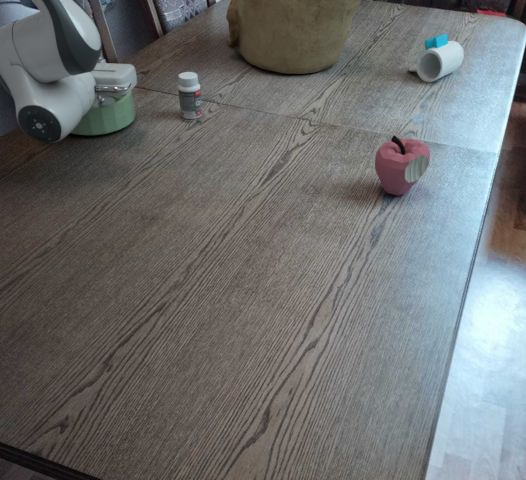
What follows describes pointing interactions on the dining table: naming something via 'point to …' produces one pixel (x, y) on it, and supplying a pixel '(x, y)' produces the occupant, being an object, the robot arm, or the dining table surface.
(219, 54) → the dining table surface
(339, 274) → the dining table surface
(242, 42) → the ceramic vessel
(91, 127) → the bowl
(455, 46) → the mug
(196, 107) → the pill bottle
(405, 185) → the apple
